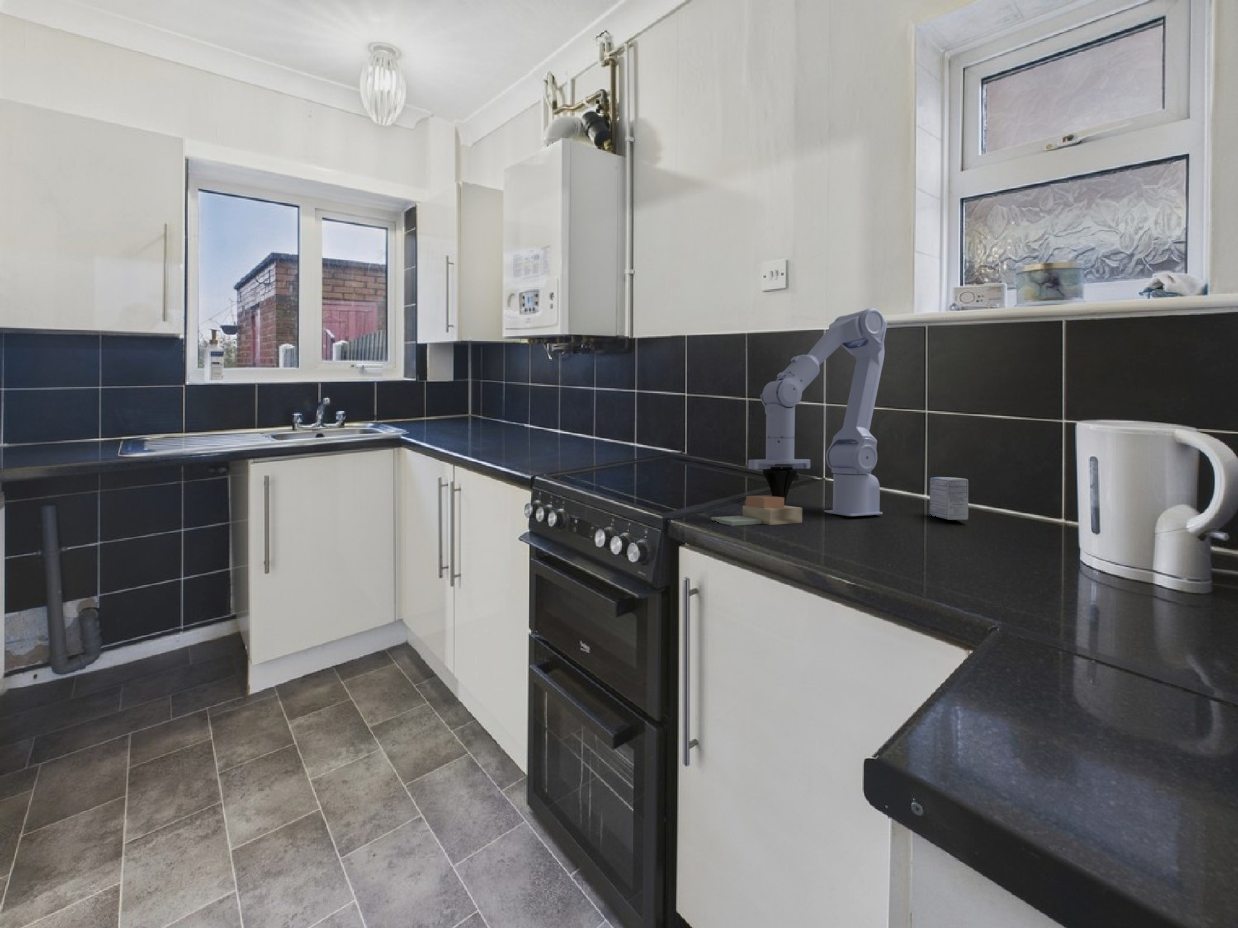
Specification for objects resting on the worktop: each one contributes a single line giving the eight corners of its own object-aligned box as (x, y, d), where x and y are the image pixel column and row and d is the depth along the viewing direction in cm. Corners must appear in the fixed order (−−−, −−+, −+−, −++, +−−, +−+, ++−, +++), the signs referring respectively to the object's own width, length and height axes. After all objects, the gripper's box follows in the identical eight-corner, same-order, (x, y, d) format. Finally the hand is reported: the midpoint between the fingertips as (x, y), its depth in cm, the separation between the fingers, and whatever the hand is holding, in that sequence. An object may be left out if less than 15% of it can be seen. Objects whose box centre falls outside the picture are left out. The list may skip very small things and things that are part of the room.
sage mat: (739, 519, 127) (739, 515, 127) (761, 523, 120) (761, 519, 120) (710, 521, 124) (710, 517, 124) (732, 525, 117) (732, 521, 117)
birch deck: (773, 517, 130) (773, 503, 130) (802, 522, 122) (802, 507, 122) (742, 519, 127) (742, 505, 127) (770, 524, 119) (770, 509, 119)
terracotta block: (765, 504, 128) (765, 495, 128) (784, 507, 123) (784, 497, 123) (746, 505, 126) (746, 496, 126) (764, 508, 121) (764, 498, 121)
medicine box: (968, 520, 127) (969, 479, 127) (947, 520, 127) (947, 478, 127) (949, 515, 135) (949, 477, 135) (928, 515, 135) (929, 476, 135)
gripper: (794, 438, 132) (793, 500, 132) (739, 438, 126) (739, 503, 126) (817, 438, 126) (816, 503, 126) (760, 437, 120) (760, 506, 120)
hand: (779, 503), depth 126 cm, fingers closed
